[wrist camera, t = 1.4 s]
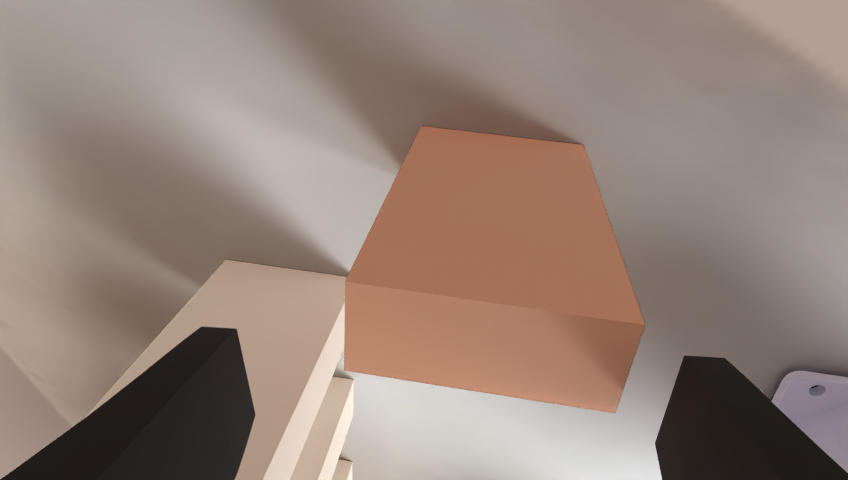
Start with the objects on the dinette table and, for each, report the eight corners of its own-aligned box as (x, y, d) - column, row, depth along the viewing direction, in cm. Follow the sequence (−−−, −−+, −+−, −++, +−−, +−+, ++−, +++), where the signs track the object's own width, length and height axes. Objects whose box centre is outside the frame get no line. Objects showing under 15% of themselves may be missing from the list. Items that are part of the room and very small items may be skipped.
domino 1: (225, 259, 21) (52, 454, 13) (355, 278, 20) (257, 490, 12) (230, 303, 22) (71, 508, 14) (355, 321, 21) (263, 544, 13)
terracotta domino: (421, 125, 17) (344, 281, 9) (583, 144, 17) (645, 325, 9) (416, 184, 18) (344, 370, 10) (570, 204, 18) (615, 412, 10)
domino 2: (237, 361, 23) (97, 577, 15) (354, 379, 23) (270, 611, 15) (241, 396, 24) (111, 615, 16) (353, 414, 24) (274, 649, 16)
